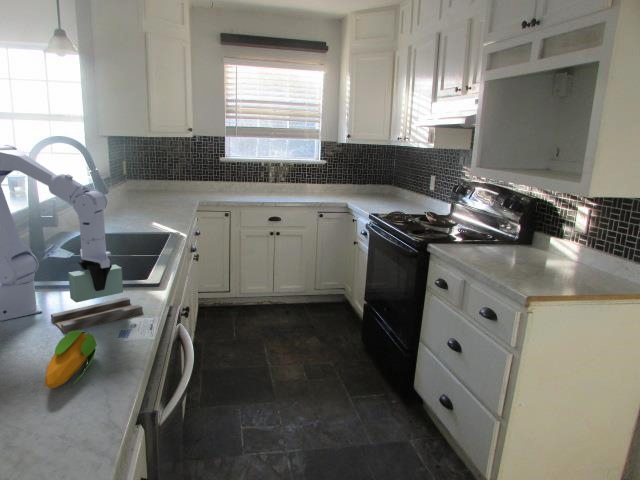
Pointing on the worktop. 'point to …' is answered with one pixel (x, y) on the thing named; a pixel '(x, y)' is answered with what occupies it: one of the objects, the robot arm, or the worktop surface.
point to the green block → (84, 285)
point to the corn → (70, 357)
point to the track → (95, 314)
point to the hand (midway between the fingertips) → (96, 287)
